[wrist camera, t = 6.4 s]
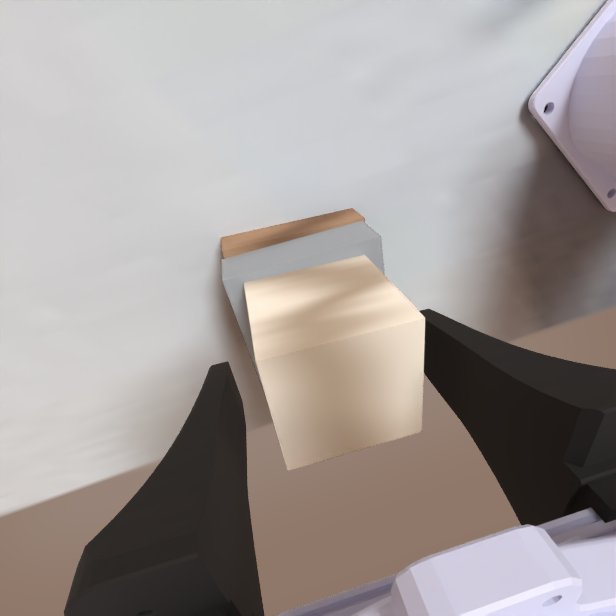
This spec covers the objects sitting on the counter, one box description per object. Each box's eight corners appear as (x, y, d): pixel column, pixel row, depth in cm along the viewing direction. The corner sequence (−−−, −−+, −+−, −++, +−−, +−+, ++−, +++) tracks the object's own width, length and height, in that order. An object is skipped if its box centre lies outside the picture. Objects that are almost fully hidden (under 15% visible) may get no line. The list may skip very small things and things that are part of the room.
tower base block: (349, 205, 18) (364, 218, 16) (359, 313, 21) (372, 333, 20) (221, 234, 17) (221, 250, 16) (252, 340, 21) (256, 364, 19)
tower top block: (362, 220, 16) (381, 235, 14) (376, 333, 20) (392, 358, 18) (221, 259, 16) (222, 280, 14) (261, 369, 19) (266, 397, 17)
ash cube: (364, 254, 15) (425, 317, 10) (371, 350, 17) (421, 431, 13) (243, 282, 14) (255, 361, 10) (269, 377, 17) (287, 471, 12)
